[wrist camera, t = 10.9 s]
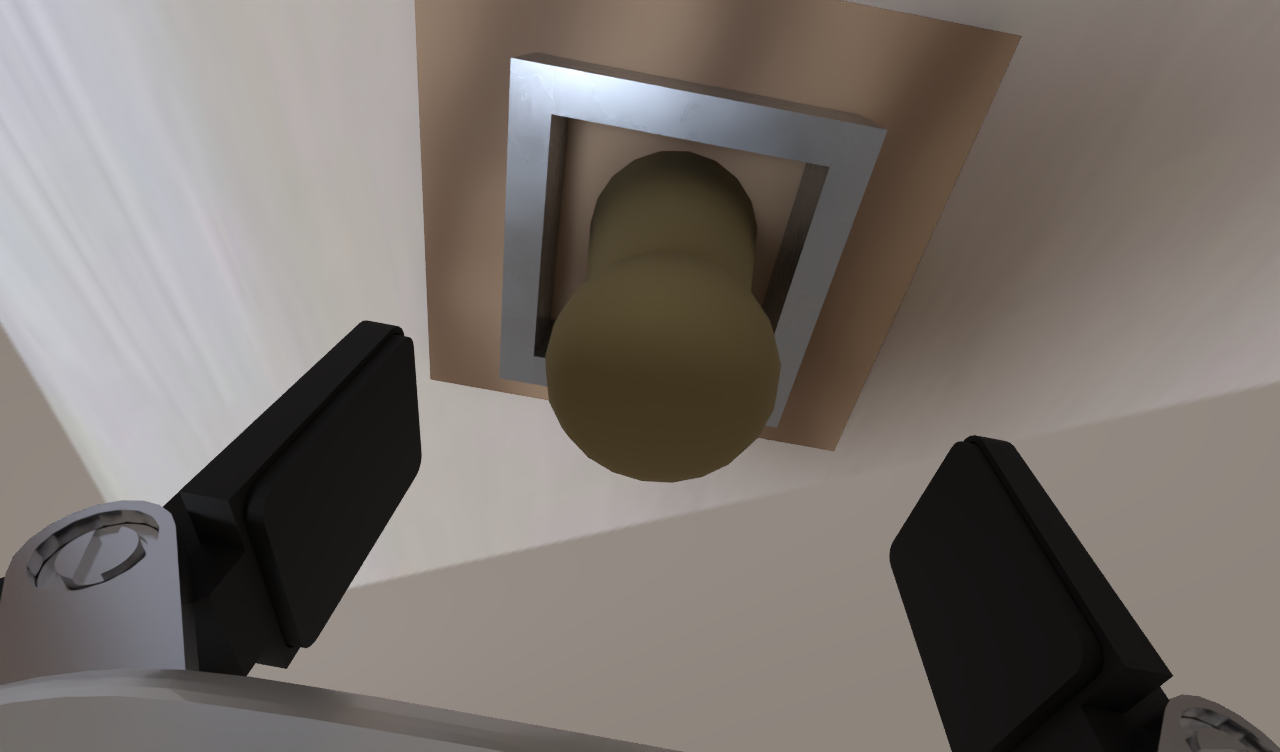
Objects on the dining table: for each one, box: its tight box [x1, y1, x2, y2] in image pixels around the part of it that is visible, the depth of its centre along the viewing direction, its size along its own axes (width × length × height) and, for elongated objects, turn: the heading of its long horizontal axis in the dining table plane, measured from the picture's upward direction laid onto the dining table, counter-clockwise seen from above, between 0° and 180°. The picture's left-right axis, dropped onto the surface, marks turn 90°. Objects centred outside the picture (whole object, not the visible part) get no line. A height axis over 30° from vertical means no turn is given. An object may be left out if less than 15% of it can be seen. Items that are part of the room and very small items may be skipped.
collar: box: [499, 52, 887, 428], centre depth 19 cm, size 10×10×3 cm
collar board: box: [415, 0, 1022, 451], centre depth 21 cm, size 18×16×1 cm
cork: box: [545, 151, 781, 482], centre depth 16 cm, size 6×6×11 cm
